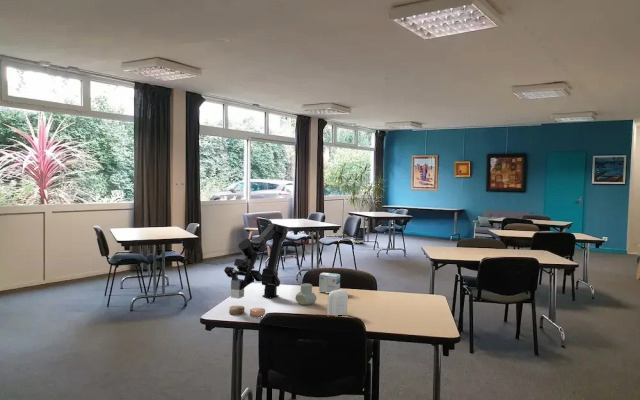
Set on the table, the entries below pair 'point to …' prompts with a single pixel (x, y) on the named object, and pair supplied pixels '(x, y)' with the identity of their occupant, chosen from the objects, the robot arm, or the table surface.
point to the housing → (236, 288)
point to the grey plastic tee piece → (306, 295)
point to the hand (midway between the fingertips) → (236, 289)
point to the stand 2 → (257, 312)
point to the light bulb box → (329, 282)
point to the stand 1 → (236, 310)
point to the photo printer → (337, 302)
